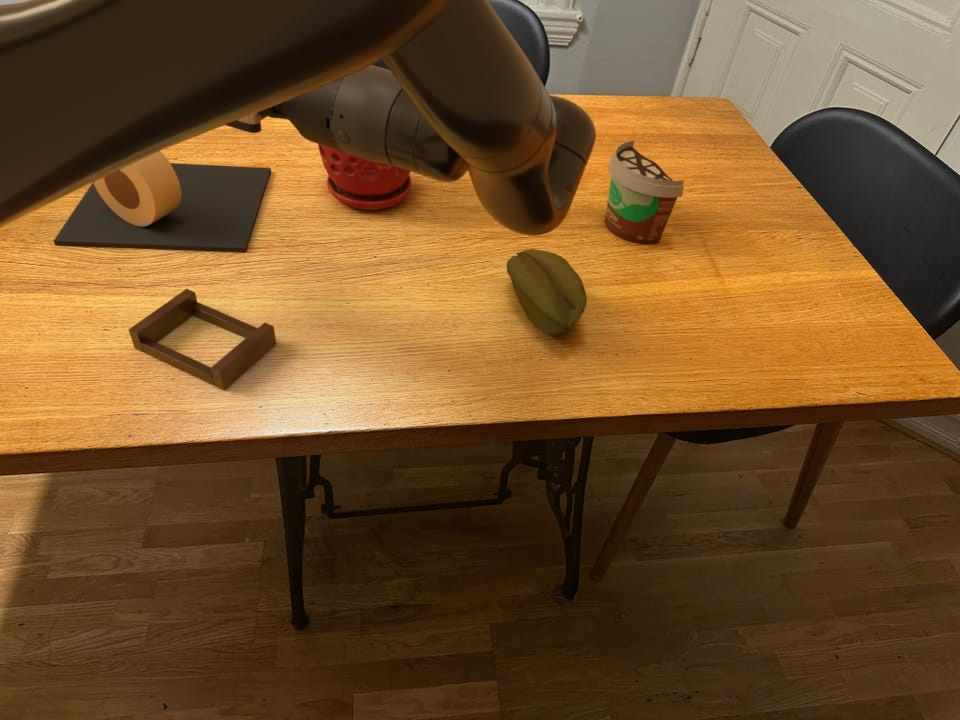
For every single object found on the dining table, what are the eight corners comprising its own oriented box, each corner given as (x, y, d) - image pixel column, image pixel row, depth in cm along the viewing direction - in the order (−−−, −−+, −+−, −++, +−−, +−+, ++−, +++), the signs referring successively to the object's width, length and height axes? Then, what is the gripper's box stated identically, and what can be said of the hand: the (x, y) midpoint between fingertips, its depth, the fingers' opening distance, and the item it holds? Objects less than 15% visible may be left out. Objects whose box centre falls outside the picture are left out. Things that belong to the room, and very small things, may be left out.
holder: (224, 390, 68) (220, 372, 66) (134, 347, 71) (128, 329, 69) (276, 343, 73) (274, 326, 72) (191, 306, 77) (186, 288, 75)
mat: (54, 245, 82) (53, 240, 82) (109, 163, 97) (107, 159, 96) (245, 252, 85) (245, 248, 84) (271, 171, 99) (270, 167, 99)
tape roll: (167, 207, 80) (104, 132, 77) (135, 239, 87) (76, 170, 84) (194, 191, 83) (135, 118, 80) (161, 223, 90) (106, 157, 87)
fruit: (601, 302, 84) (613, 257, 79) (565, 360, 76) (576, 314, 71) (515, 271, 87) (522, 226, 82) (472, 324, 79) (477, 277, 74)
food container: (579, 209, 99) (593, 143, 93) (615, 202, 102) (631, 138, 95) (627, 257, 92) (646, 189, 85) (665, 249, 94) (686, 182, 87)
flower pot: (319, 171, 100) (313, 89, 92) (410, 170, 103) (411, 90, 95) (321, 220, 91) (315, 134, 83) (421, 218, 94) (424, 134, 86)
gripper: (405, 42, 61) (257, 0, 66) (306, 94, 52) (140, 41, 56) (404, 123, 67) (266, 80, 71) (314, 184, 57) (161, 130, 61)
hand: (211, 63), depth 63 cm, fingers open, 8 cm apart
